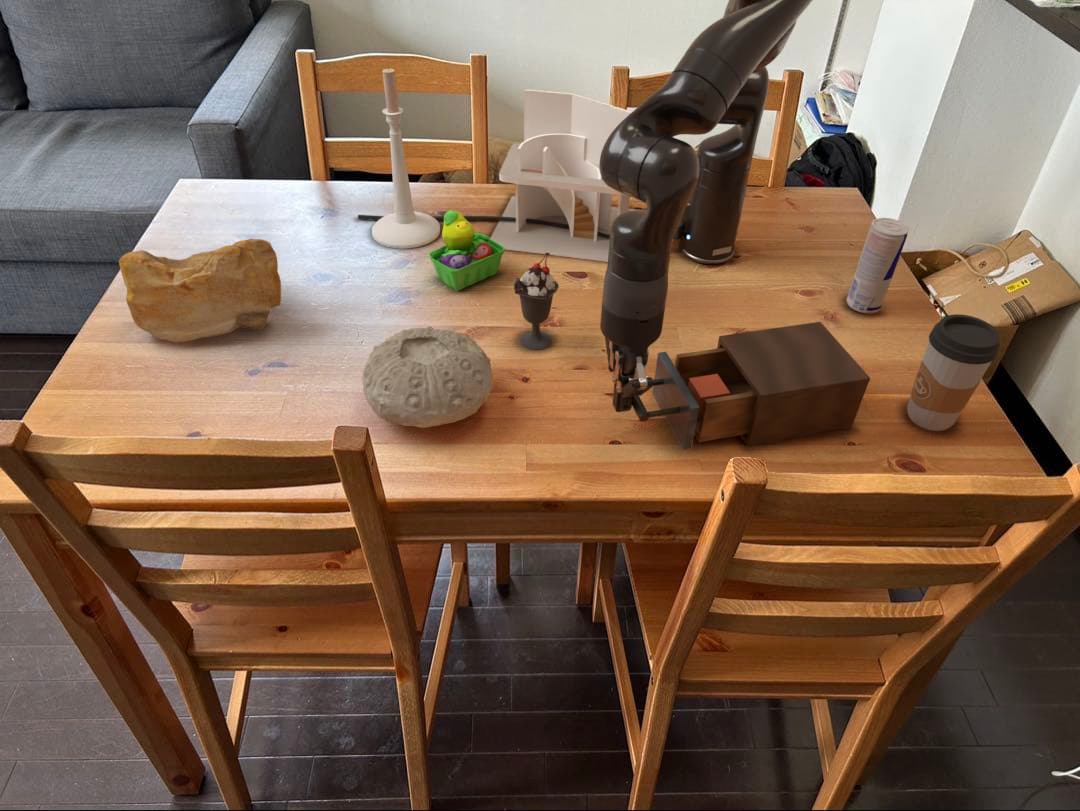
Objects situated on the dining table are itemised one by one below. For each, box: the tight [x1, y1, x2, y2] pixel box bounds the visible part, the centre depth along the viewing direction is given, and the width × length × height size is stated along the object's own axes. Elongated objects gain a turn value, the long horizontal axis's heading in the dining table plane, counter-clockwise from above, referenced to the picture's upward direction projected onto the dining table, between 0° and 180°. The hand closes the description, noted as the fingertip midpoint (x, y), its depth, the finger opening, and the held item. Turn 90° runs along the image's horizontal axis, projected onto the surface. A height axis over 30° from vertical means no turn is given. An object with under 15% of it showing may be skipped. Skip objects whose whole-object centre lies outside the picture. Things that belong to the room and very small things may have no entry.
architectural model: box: [489, 89, 638, 263], centre depth 142 cm, size 28×21×23 cm
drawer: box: [632, 347, 758, 451], centre depth 106 cm, size 20×12×7 cm, turn 104°
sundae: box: [513, 253, 560, 351], centre depth 118 cm, size 7×7×15 cm
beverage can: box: [846, 217, 910, 314], centre depth 127 cm, size 6×6×15 cm
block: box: [688, 374, 730, 421], centre depth 107 cm, size 4×4×4 cm
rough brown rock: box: [118, 238, 282, 343], centre depth 123 cm, size 23×17×15 cm
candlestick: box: [371, 66, 441, 250], centre depth 139 cm, size 13×13×30 cm
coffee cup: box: [906, 314, 1001, 432], centre depth 106 cm, size 8×8×15 cm
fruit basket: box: [428, 209, 506, 292], centre depth 133 cm, size 11×9×11 cm
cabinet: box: [716, 321, 871, 448], centre depth 109 cm, size 16×13×9 cm
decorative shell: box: [361, 326, 493, 429], centre depth 108 cm, size 18×18×10 cm
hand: (621, 408), depth 104 cm, fingers closed
